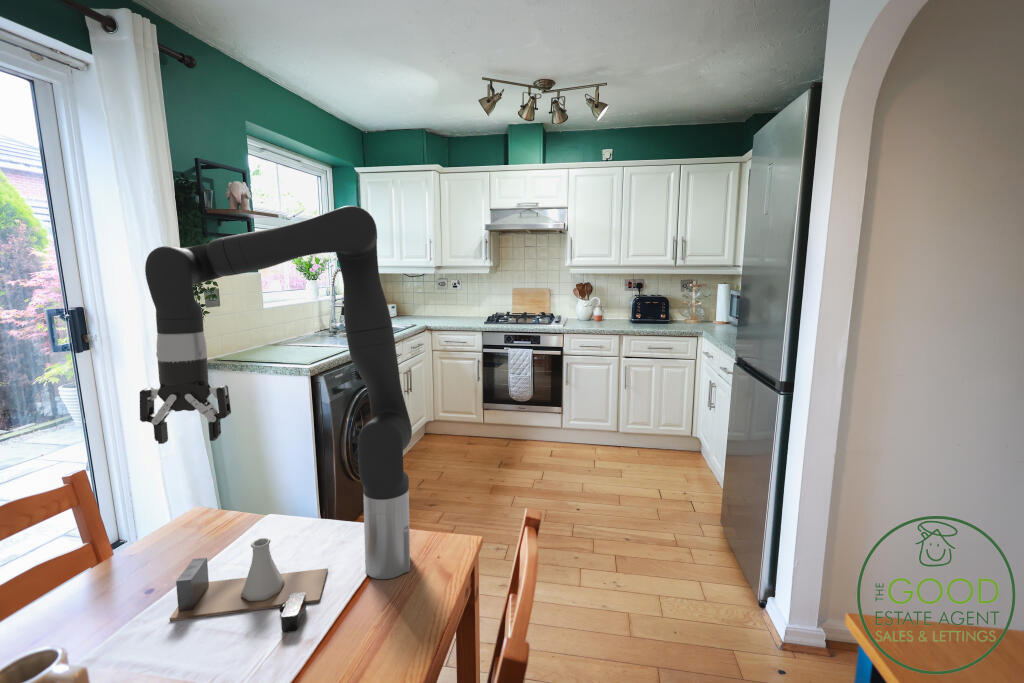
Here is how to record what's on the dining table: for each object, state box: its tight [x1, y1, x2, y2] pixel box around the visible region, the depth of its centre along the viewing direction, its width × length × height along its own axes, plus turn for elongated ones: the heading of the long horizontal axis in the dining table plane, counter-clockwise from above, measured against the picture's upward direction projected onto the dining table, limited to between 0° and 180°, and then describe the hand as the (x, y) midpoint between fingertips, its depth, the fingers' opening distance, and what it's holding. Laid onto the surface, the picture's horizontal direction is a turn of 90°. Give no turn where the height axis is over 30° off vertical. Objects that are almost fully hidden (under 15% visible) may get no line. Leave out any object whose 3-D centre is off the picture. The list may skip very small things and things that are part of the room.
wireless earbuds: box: [278, 593, 307, 634], centre depth 84 cm, size 5×7×3 cm, turn 10°
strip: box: [169, 557, 329, 622], centre depth 90 cm, size 25×10×6 cm, turn 103°
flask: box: [241, 537, 285, 601], centre depth 90 cm, size 7×7×10 cm
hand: (188, 441), depth 89 cm, fingers open, 8 cm apart
